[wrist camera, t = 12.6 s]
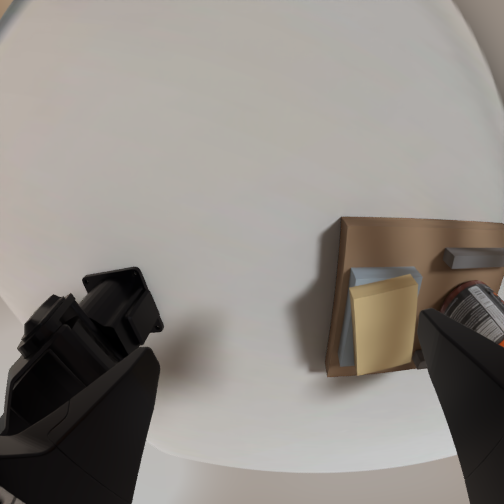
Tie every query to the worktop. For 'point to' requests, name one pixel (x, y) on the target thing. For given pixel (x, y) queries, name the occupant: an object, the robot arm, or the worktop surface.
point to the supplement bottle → (477, 309)
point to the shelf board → (412, 253)
